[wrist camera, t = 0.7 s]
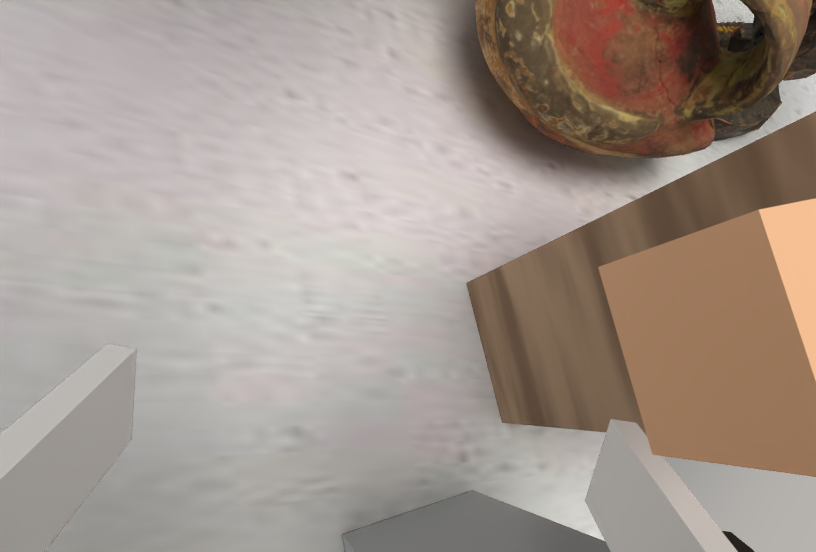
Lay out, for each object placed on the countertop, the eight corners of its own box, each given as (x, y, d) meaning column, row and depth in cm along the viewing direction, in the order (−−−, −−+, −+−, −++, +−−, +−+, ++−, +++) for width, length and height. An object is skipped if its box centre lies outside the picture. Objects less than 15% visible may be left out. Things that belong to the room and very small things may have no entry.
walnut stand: (502, 422, 40) (1031, 471, 13) (466, 283, 41) (883, 77, 15) (619, 387, 43) (1231, 370, 17) (582, 259, 44) (1095, 55, 18)
